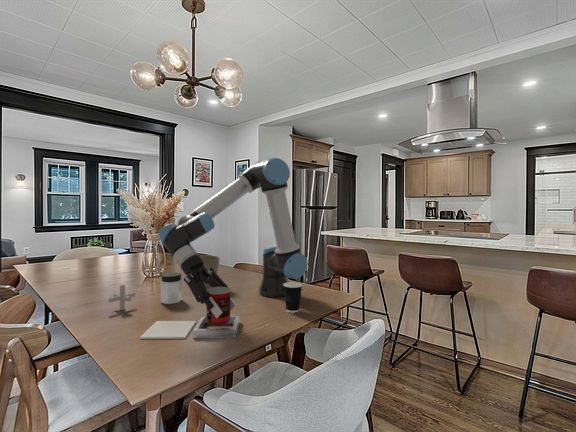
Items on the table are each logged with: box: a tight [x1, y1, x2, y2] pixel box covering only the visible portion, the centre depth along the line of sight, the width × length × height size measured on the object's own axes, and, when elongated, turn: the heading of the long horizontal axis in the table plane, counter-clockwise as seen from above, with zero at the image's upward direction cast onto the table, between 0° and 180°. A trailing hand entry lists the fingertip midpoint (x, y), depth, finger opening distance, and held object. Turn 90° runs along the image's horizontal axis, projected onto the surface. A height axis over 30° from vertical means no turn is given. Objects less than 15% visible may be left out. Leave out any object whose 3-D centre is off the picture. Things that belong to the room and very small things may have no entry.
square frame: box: [192, 315, 241, 339], centre depth 104 cm, size 13×13×2 cm
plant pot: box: [199, 255, 221, 290], centre depth 158 cm, size 15×15×16 cm
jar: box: [160, 272, 183, 305], centre depth 136 cm, size 9×8×12 cm
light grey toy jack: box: [108, 284, 136, 311], centre depth 124 cm, size 10×10×10 cm
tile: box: [139, 320, 197, 340], centre depth 104 cm, size 14×14×1 cm
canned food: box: [206, 286, 231, 326], centre depth 105 cm, size 8×8×11 cm
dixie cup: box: [283, 281, 304, 314], centre depth 125 cm, size 8×8×11 cm
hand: (226, 311), depth 104 cm, fingers closed on canned food, 8 cm apart
